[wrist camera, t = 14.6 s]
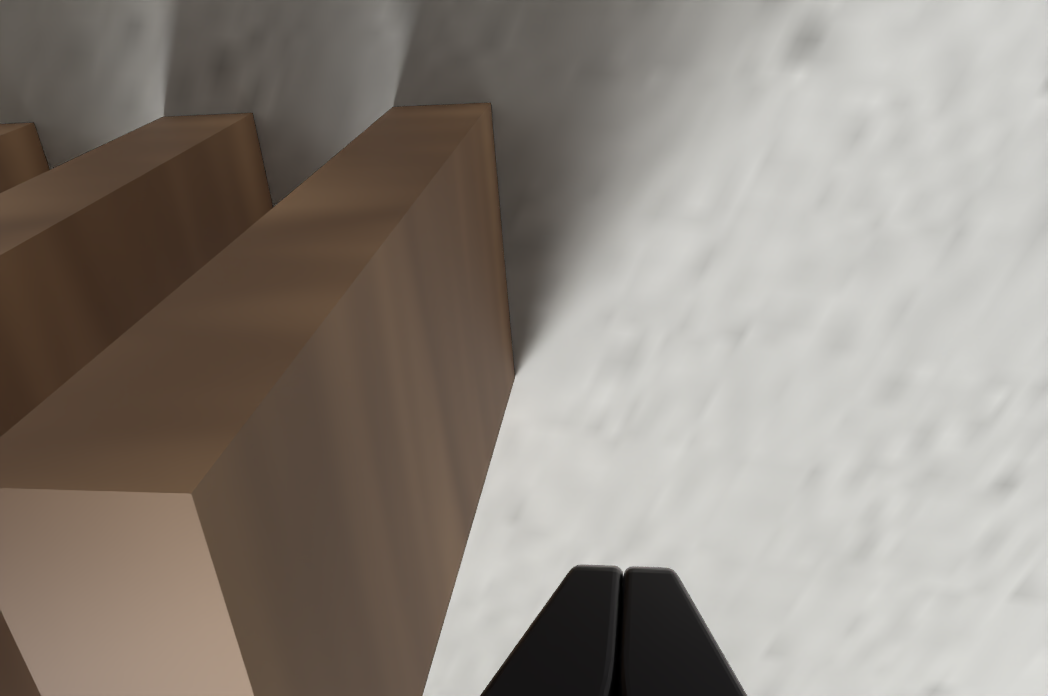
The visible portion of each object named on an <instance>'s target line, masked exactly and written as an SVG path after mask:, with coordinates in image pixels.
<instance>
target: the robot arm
mask: <svg viewBox="0 0 1048 696" xmlns="http://www.w3.org/2000/svg"><path fill="white" fill-rule="evenodd" d="M480 696H747V694H746V693H745V691H744V689H743V687H742V686H741V684H740V682H739V680H738V679H737V677H736V675H735V674H734V672H733V670H732V668H731V667H730V665H729V663H728V661H727V660H726V658H725V656H724V654H723V653H722V651H721V649H720V648H719V646H718V644H717V642H716V641H715V639H714V637H713V635H712V634H711V632H710V630H709V628H708V627H707V625H706V623H705V621H704V620H703V618H702V616H701V615H700V613H699V611H698V609H697V608H696V606H695V604H694V602H693V601H692V599H691V597H690V595H689V594H688V592H687V590H686V589H685V587H684V585H683V583H682V582H681V580H680V578H679V577H678V575H677V574H676V573H675V571H673V570H672V569H670V568H661V567H629V568H627V569H626V571H625V572H624V577H623V572H622V571H621V569H620V568H619V567H617V566H605V565H577V566H575V567H573V568H572V569H571V570H570V571H569V573H568V574H567V575H566V577H565V578H564V579H563V581H562V582H561V584H560V585H559V586H558V588H557V589H556V591H555V592H554V593H553V595H552V596H551V598H550V599H549V600H548V602H547V603H546V605H545V606H544V607H543V609H542V610H541V612H540V613H539V614H538V616H537V617H536V618H535V620H534V621H533V623H532V624H531V625H530V627H529V628H528V630H527V631H526V632H525V634H524V635H523V637H522V638H521V639H520V641H519V642H518V644H517V645H516V646H515V648H514V649H513V651H512V652H511V653H510V655H509V656H508V658H507V659H506V660H505V662H504V663H503V664H502V666H501V667H500V669H499V670H498V671H497V673H496V674H495V676H494V677H493V678H492V680H491V681H490V683H489V684H488V685H487V687H486V688H485V690H484V691H483V692H482V694H481V695H480Z"/></svg>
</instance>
